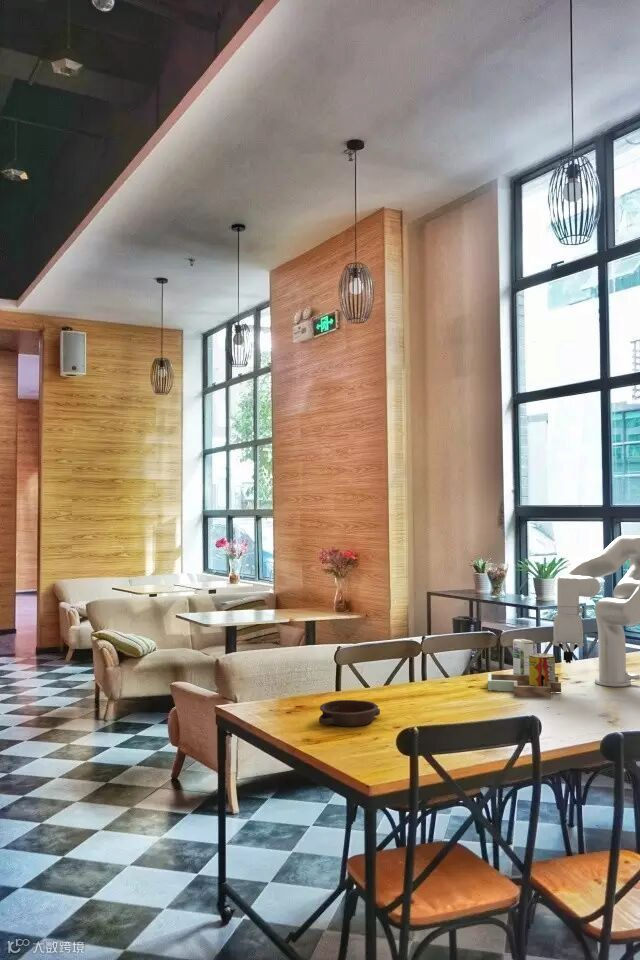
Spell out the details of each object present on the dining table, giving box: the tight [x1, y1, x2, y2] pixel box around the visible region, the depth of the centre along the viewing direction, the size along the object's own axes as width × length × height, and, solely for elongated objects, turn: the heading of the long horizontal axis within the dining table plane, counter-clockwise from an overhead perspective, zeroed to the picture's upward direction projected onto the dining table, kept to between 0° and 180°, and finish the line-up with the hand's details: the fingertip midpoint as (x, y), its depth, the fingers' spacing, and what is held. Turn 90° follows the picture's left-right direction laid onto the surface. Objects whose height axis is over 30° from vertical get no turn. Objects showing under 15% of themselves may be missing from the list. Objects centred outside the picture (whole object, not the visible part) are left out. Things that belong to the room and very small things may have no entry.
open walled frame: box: [491, 673, 562, 698], centre depth 285 cm, size 24×22×4 cm
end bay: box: [487, 672, 517, 692], centre depth 291 cm, size 10×14×4 cm
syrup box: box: [512, 638, 534, 675], centre depth 309 cm, size 6×6×14 cm
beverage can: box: [529, 652, 556, 687], centre depth 288 cm, size 9×9×12 cm
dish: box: [318, 699, 381, 728], centre depth 242 cm, size 18×22×5 cm
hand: (568, 662), depth 286 cm, fingers closed
